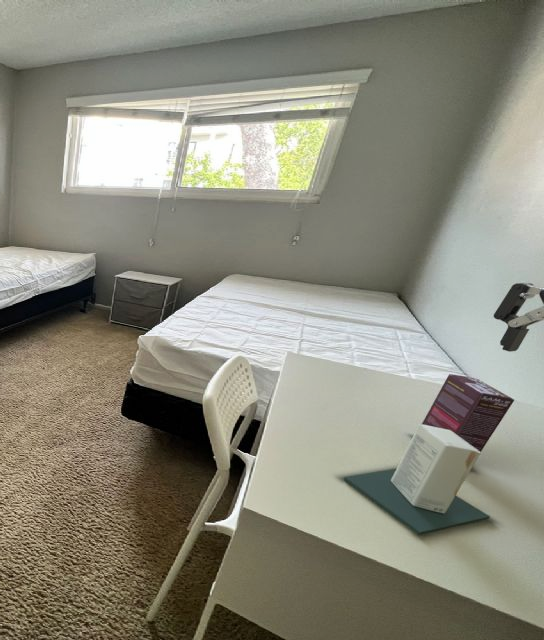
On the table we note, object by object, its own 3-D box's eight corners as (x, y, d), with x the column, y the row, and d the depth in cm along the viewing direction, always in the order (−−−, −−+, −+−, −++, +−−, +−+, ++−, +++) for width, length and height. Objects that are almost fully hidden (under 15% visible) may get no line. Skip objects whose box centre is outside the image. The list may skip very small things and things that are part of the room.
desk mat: (406, 468, 66) (408, 466, 66) (488, 519, 56) (490, 516, 56) (343, 479, 62) (344, 476, 62) (418, 535, 53) (420, 532, 52)
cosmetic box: (445, 515, 56) (485, 454, 51) (411, 506, 57) (447, 446, 53) (418, 486, 61) (451, 429, 57) (388, 478, 63) (418, 422, 58)
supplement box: (472, 470, 67) (517, 400, 62) (440, 462, 69) (481, 393, 63) (440, 442, 75) (478, 378, 69) (412, 436, 76) (447, 372, 71)
